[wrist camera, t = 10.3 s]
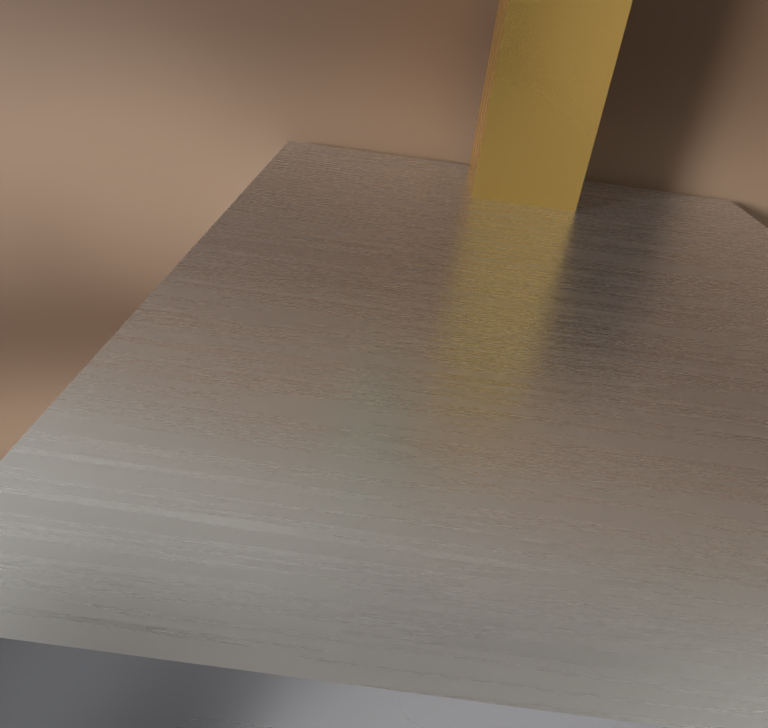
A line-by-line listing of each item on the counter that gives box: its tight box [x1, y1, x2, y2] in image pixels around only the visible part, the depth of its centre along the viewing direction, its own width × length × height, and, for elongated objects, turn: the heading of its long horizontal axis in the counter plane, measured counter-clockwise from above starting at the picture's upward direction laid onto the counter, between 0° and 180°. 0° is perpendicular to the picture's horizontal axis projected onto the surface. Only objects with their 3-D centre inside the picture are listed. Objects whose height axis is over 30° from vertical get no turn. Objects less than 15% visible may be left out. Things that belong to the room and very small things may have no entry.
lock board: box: [0, 0, 768, 461], centre depth 13 cm, size 22×22×2 cm
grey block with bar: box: [0, 0, 768, 728], centre depth 7 cm, size 11×7×9 cm, turn 173°
